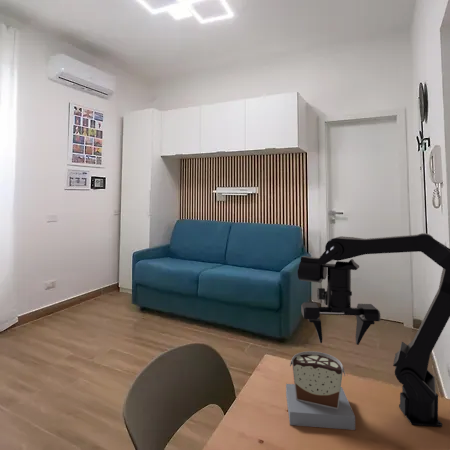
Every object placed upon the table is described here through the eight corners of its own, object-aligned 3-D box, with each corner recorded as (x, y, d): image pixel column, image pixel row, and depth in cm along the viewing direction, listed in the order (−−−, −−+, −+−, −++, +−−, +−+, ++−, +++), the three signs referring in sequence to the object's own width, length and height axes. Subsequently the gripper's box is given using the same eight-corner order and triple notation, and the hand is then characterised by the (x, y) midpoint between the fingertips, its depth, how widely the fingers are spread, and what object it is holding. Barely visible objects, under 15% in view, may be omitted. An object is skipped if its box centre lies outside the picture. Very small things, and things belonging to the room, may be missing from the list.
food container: (345, 395, 72) (345, 355, 72) (345, 411, 66) (345, 367, 66) (294, 384, 77) (294, 346, 76) (290, 398, 71) (289, 357, 71)
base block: (341, 398, 76) (341, 387, 75) (355, 429, 65) (355, 416, 65) (286, 395, 77) (286, 383, 77) (289, 424, 66) (289, 412, 66)
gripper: (365, 278, 84) (365, 332, 85) (298, 277, 87) (299, 330, 87) (381, 288, 73) (380, 350, 74) (304, 287, 75) (304, 347, 76)
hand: (338, 343), depth 78 cm, fingers open, 9 cm apart
